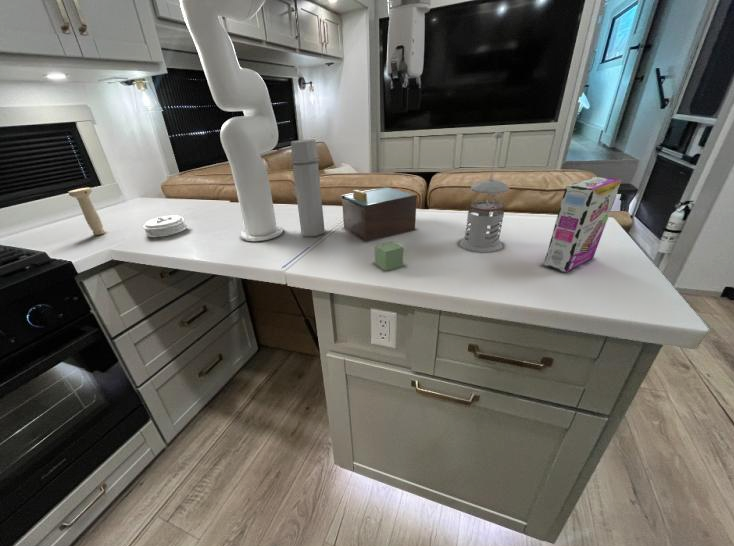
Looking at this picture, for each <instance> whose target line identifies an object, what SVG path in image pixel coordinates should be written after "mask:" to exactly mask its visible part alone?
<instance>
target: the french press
mask: <svg viewBox="0 0 734 546" xmlns="http://www.w3.org/2000/svg"><path fill="white" fill-rule="evenodd" d="M503 136H504V134H503V132H502V131H496V132H494V133H493V135H492V139H496V142H495V148H494V154H493V161H492V167H491V173H490V178H489V179H484V180H481V181H479V182H475V183H474V184H472V185H471V186H470V189H471V190H472V192H475V193H479V194H487V199H486V200H479V201H475V202H472V203H471V204H470V207H471V208H470V209H469V210H468V211H467V219H466V225H465V226H466V227H465V231H464V233H465V234H464V238H463V239H461V241H460V242H459V245H460V247H461V248H463V249H465V250H467V251H468V250H469V251H471V252H476V253H477V252H478V253H491V252H497V251H500V250H501V249H502V248H503V244H502V243H501V241H500V237H501V231H502V227H503V225H502V224H503V221H504V215H505V212H504V210H503V208H504V207H505V205H504V204H503V203H502V197H503V196H502V195H503V193H506V192H508V191H509V190H510V186H509V185H508V184H506V183H505V182H503V181H500V180H498V179H493V172H494V167H495V166H494V165H495V159H496V153H497V147H498V140H499V139H503ZM499 194H500V196H499ZM489 196H492V197H493V200H492V201H491V200H489ZM498 196H499V197H500V200H499V202H498V201H495V200H496V199H495V198H496V197H498ZM476 214H477V215H476ZM488 226H489V228H488ZM487 232H489V233H487Z"/></svg>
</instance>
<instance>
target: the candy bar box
mask: <svg viewBox="0 0 734 546" xmlns="http://www.w3.org/2000/svg"><path fill="white" fill-rule="evenodd" d="M622 181H623V180H622V179H619V178H609V177H601V176H594V177H590V178H588V179H585V180H584V179H583V180H582V181H577V182H575V183H572V184H568V185H566V186H565V188H564V192H563V195H562V198H561V203H560V206H559V210H558V213H557V217H556V220H555V223H554V224H555V225H554V227H553V230H552V234H551V238H550V241H549V245H548V248H547V251H546V255H545V259H544V261H543V267H546V268H549V269H553V270H556V271H558V272H562V273H568V272H570V271H572V270H574V269H576V268H577V267H579V266H581V265H583V264H585V263H587V262H589V261H591V260H592V259H594V257H595V254H596V252H597V249H598V246H599V243H600V241H601V238H602V235H603V232H604V231H605V227H606V224H607V221H608V219H609V216H610V214H611V211H612V209H613V206H614V203H615V201H616V197H617V195H618V192H619V189H620V187H621V184H622Z"/></svg>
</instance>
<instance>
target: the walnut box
mask: <svg viewBox="0 0 734 546" xmlns="http://www.w3.org/2000/svg"><path fill="white" fill-rule="evenodd" d="M384 188H390V186H384V187H378V188H373V189H368V190H363V191H361V192H368V191H374V190H379V189H384ZM352 194H353V192H352V193H347V194H342V195H341V202H342V203H341V204H342V220H343V229H345V230H346V231H348V232H350V233H351V234H353V235H355V236H356V237H358V238H359V239H361V240H363V241H365V242H371V241H374V240H379V239H383V238H386V237H390V236H395V235H399V234H403V233H406V232H407V233H408V232H411V231H412V232H413V231H415V230H416V218H417V202H418V201H417V199H418V194H412V195H413V196H408V197H403V198H398V199H393V200H388V201H383V202H378V203H373V204H368V205H365V207H364V206H362V205H359V204H357V203H355V202H352V201H350V200H348V199H345V198H344V196H347V195H352Z"/></svg>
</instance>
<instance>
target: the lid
mask: <svg viewBox="0 0 734 546" xmlns="http://www.w3.org/2000/svg"><path fill="white" fill-rule="evenodd" d="M142 228H143V229H144V232H145V236H147V237H149V238H157V237H158V238H159V237H160V238H161V237H165V236H166V237H167V236H171V235H174V234H178V233H180V232H182V231H185V230H186V229H187V224H186V223H185V218H184V217H182V216H180V215H177V214H176V215H175V214H174V215H173V214H171V215H163V216H158V217H155V218H152V219H149V220H147V221H145V223H144V224H143V225H142Z"/></svg>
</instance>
